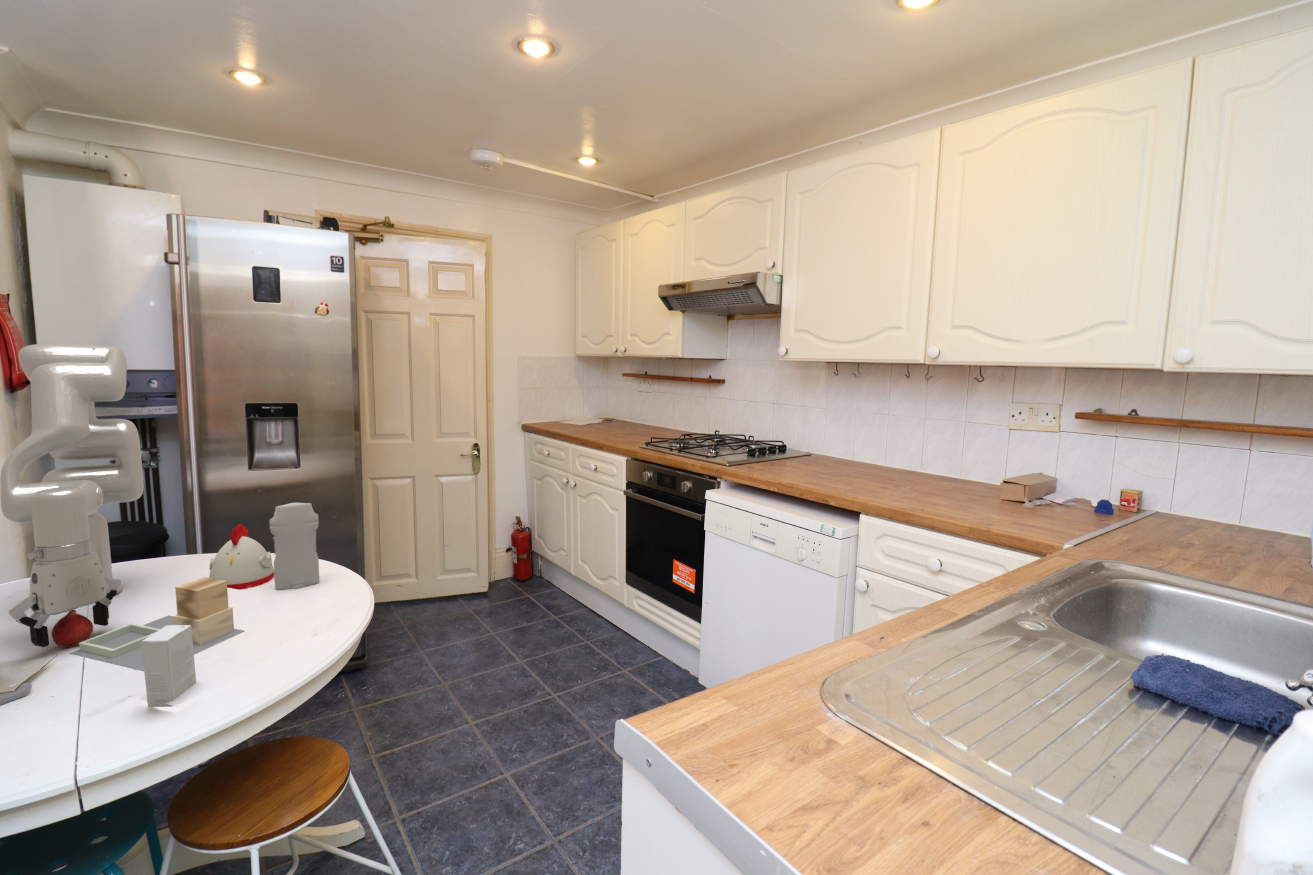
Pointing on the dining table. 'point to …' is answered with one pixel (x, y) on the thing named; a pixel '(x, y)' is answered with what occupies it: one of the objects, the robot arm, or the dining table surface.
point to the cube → (201, 598)
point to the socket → (94, 648)
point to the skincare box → (168, 664)
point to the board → (136, 656)
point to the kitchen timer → (242, 562)
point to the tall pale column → (295, 546)
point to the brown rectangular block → (208, 625)
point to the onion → (72, 629)
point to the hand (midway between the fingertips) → (72, 634)
